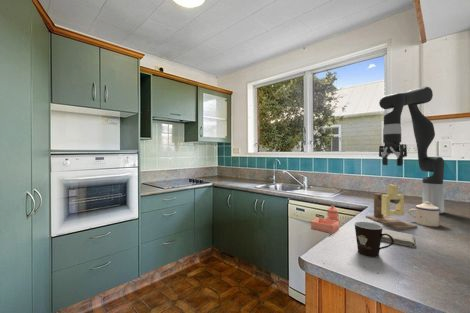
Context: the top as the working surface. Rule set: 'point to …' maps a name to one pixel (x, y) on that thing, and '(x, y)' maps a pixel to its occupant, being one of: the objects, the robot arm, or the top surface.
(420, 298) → the top surface
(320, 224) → the pottery
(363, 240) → the coffee mug
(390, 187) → the brass link
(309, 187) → the top surface
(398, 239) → the washcloth
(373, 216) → the walnut stand
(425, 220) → the teacup with lid
